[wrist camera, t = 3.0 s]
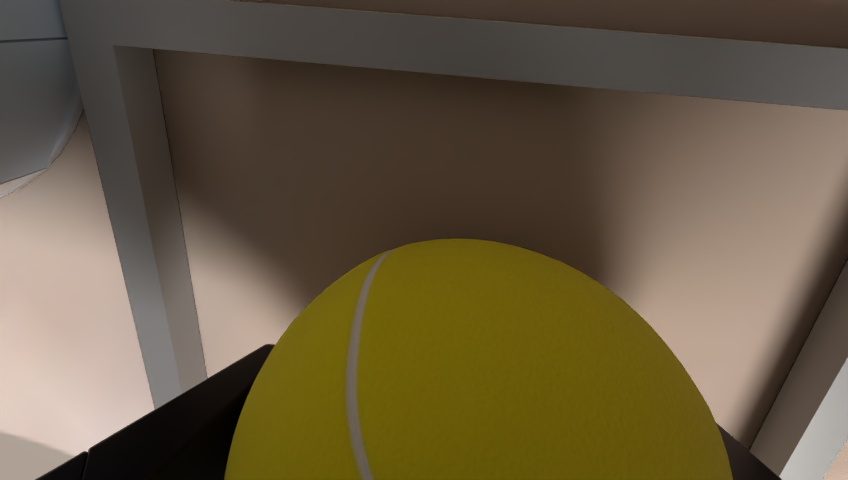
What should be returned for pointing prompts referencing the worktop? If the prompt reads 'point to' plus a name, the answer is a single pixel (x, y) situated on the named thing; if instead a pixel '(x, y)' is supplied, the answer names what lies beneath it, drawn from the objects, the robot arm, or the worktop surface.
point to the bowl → (34, 90)
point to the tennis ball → (473, 379)
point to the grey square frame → (427, 53)
